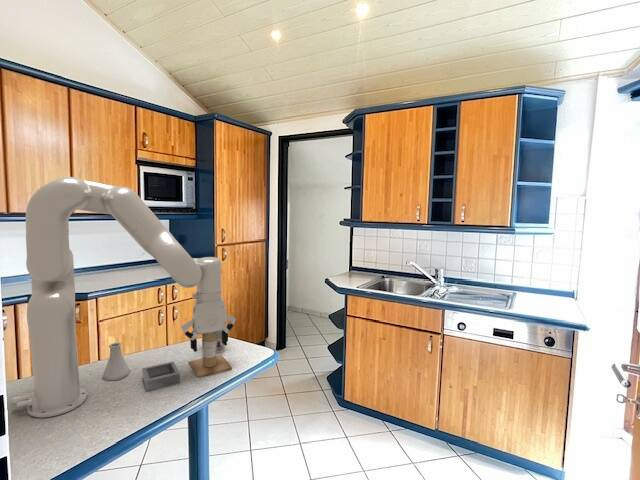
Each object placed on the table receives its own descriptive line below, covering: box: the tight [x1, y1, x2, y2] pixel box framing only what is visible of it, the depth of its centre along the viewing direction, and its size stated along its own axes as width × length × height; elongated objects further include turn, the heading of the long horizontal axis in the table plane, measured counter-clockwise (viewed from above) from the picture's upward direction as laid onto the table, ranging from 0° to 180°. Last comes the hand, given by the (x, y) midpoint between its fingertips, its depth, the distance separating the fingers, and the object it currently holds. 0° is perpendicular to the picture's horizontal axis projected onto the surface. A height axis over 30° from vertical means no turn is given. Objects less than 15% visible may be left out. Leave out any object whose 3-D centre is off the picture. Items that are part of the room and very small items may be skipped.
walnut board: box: [187, 353, 233, 379], centre depth 115 cm, size 11×11×1 cm
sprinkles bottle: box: [201, 331, 217, 367], centre depth 114 cm, size 5×5×13 cm
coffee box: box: [201, 330, 225, 354], centre depth 128 cm, size 9×6×16 cm
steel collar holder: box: [141, 361, 181, 392], centre depth 106 cm, size 9×9×3 cm
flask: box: [101, 342, 131, 382], centre depth 108 cm, size 7×7×10 cm
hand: (209, 346), depth 115 cm, fingers open, 9 cm apart
